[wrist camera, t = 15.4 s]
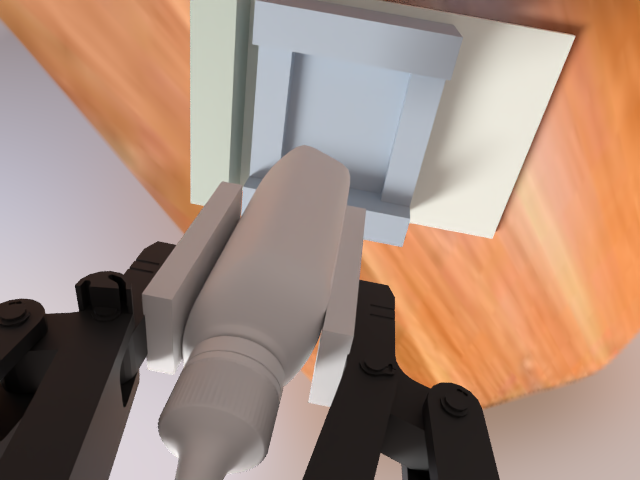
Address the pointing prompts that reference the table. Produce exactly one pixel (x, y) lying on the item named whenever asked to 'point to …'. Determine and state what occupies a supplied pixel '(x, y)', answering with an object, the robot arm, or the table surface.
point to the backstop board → (449, 124)
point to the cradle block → (350, 98)
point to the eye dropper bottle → (257, 318)
